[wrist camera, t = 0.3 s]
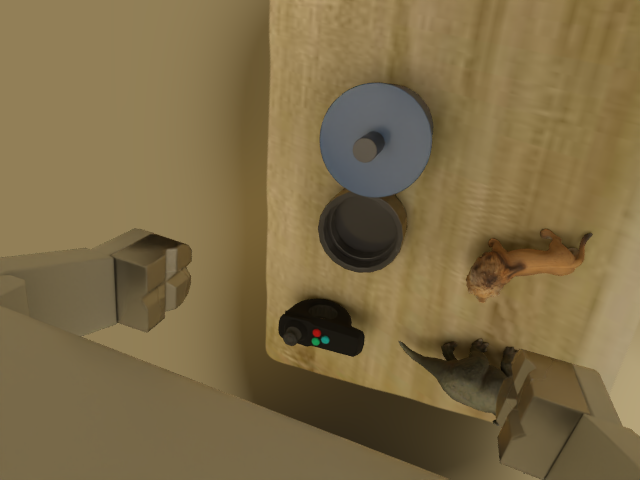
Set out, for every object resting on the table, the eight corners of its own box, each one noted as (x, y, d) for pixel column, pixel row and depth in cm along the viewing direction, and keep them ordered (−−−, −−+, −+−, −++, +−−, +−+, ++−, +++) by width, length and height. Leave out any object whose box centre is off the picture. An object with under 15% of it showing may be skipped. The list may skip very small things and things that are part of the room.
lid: (332, 72, 45) (316, 73, 40) (446, 94, 42) (444, 98, 37) (314, 180, 50) (298, 193, 45) (416, 206, 47) (410, 223, 42)
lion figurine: (472, 280, 57) (474, 315, 49) (459, 245, 56) (459, 275, 48) (596, 250, 51) (620, 284, 43) (584, 210, 50) (607, 238, 42)
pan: (336, 173, 58) (325, 182, 53) (416, 193, 55) (412, 204, 51) (323, 245, 62) (312, 259, 58) (396, 266, 60) (391, 282, 56)
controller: (297, 287, 66) (272, 321, 58) (375, 307, 64) (360, 346, 55) (295, 310, 68) (270, 346, 59) (370, 331, 65) (355, 372, 56)
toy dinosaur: (397, 331, 64) (385, 381, 54) (430, 292, 60) (423, 337, 50) (524, 415, 63) (535, 481, 53) (566, 381, 59) (587, 445, 49)
